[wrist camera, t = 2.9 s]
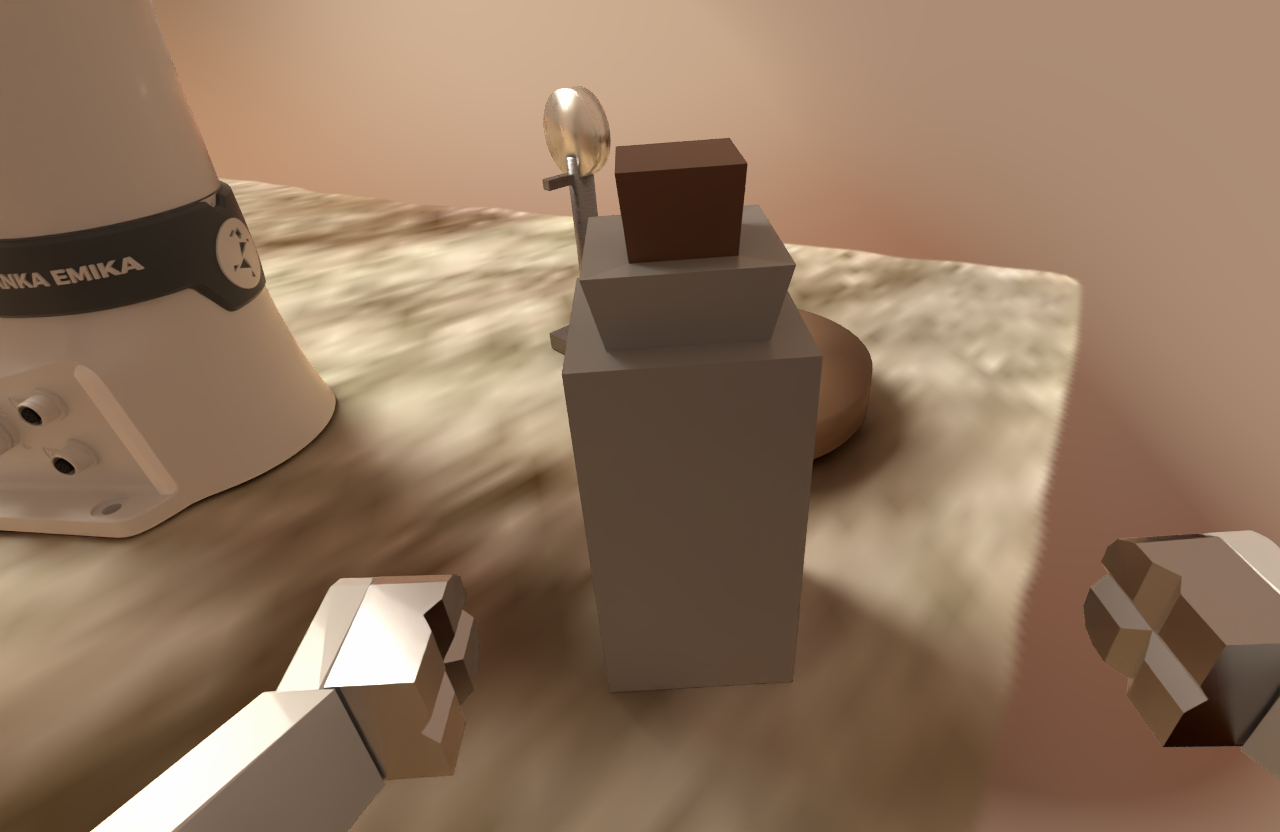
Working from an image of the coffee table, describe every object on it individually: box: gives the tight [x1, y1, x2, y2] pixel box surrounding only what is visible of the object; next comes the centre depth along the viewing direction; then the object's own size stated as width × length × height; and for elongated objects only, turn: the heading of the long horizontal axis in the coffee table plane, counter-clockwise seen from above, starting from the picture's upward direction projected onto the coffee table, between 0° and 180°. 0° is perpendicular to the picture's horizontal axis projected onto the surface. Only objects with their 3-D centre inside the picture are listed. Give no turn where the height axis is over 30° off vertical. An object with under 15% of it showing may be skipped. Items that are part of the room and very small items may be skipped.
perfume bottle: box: [562, 138, 823, 692], centre depth 22 cm, size 7×7×18 cm
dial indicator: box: [543, 86, 610, 355], centre depth 44 cm, size 5×5×17 cm
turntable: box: [798, 309, 872, 459], centre depth 40 cm, size 16×16×3 cm
